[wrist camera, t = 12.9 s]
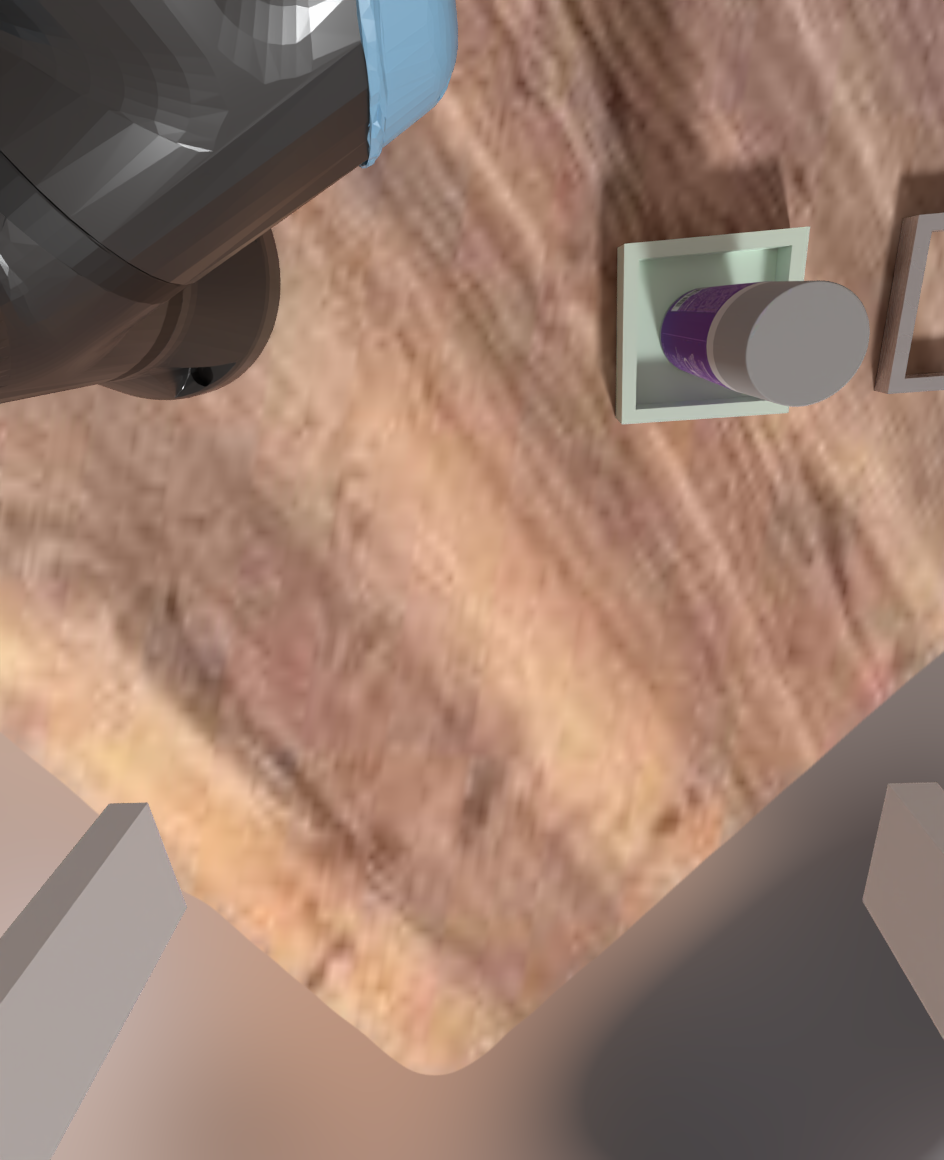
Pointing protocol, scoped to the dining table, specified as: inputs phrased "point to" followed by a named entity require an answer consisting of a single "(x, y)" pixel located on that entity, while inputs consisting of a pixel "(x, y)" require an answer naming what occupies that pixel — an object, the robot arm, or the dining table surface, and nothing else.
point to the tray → (655, 283)
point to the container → (769, 338)
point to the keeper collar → (907, 309)
